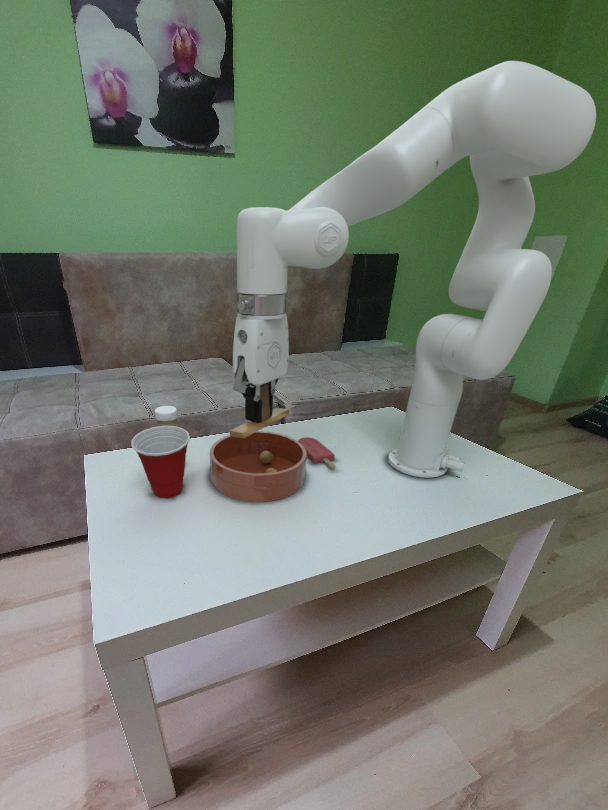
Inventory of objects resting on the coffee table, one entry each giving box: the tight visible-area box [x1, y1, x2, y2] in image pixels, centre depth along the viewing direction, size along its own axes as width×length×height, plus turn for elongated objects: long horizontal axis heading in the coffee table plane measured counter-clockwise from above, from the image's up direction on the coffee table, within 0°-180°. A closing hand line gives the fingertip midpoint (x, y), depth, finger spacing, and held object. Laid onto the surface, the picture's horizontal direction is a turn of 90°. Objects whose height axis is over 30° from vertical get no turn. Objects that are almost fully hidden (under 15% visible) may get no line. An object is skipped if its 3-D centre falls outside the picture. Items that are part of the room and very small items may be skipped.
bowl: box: [209, 430, 307, 503], centre depth 82 cm, size 20×20×6 cm
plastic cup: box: [130, 426, 191, 499], centre depth 75 cm, size 11×11×12 cm
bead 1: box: [260, 451, 273, 464], centre depth 86 cm, size 3×3×3 cm
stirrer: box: [229, 384, 290, 439], centre depth 68 cm, size 14×3×7 cm, turn 142°
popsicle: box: [297, 436, 336, 469], centre depth 91 cm, size 5×2×15 cm
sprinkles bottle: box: [154, 405, 179, 427], centre depth 83 cm, size 5×5×13 cm
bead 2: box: [264, 468, 277, 473], centre depth 79 cm, size 3×3×3 cm
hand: (258, 417), depth 69 cm, fingers closed on stirrer, 2 cm apart
